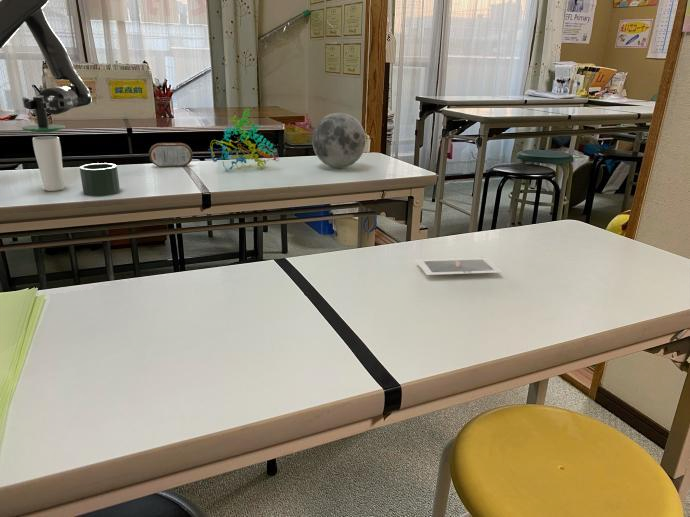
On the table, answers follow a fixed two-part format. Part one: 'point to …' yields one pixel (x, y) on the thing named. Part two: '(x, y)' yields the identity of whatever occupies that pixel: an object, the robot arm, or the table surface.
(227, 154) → the molecular model
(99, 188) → the can
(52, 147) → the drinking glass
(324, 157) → the moon model
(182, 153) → the tin
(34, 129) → the tin lid
